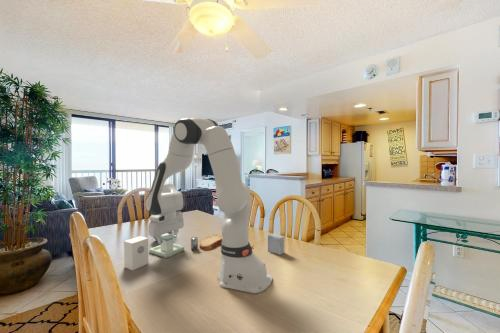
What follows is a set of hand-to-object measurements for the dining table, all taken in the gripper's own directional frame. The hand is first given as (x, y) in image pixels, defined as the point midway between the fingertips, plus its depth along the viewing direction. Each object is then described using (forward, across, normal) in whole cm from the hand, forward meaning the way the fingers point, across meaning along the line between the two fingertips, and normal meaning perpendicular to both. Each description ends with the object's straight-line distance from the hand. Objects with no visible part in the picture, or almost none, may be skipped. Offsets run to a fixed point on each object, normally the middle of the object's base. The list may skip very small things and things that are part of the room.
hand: (167, 240), depth 124 cm
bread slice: (+7, -22, +13) cm, 26 cm away
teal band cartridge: (+5, 0, 0) cm, 5 cm away
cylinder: (+6, -10, +10) cm, 15 cm away
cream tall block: (+6, +18, +1) cm, 19 cm away
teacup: (+6, -11, -16) cm, 20 cm away
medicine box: (+7, -29, +50) cm, 58 cm away
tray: (+6, 0, 0) cm, 6 cm away
